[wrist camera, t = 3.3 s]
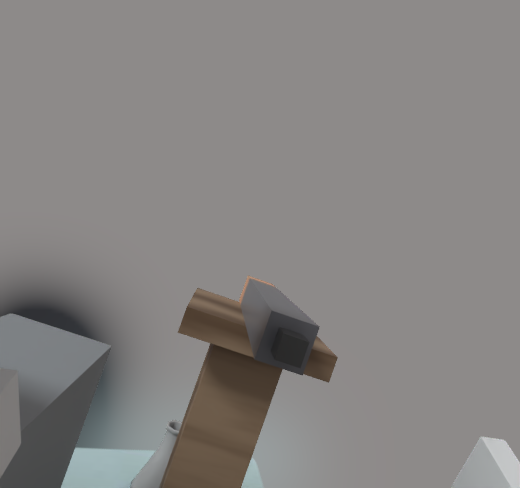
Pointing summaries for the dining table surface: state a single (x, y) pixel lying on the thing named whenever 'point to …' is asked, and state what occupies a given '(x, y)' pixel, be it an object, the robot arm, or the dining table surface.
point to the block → (48, 396)
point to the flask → (158, 460)
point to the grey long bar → (276, 327)
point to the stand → (226, 397)
